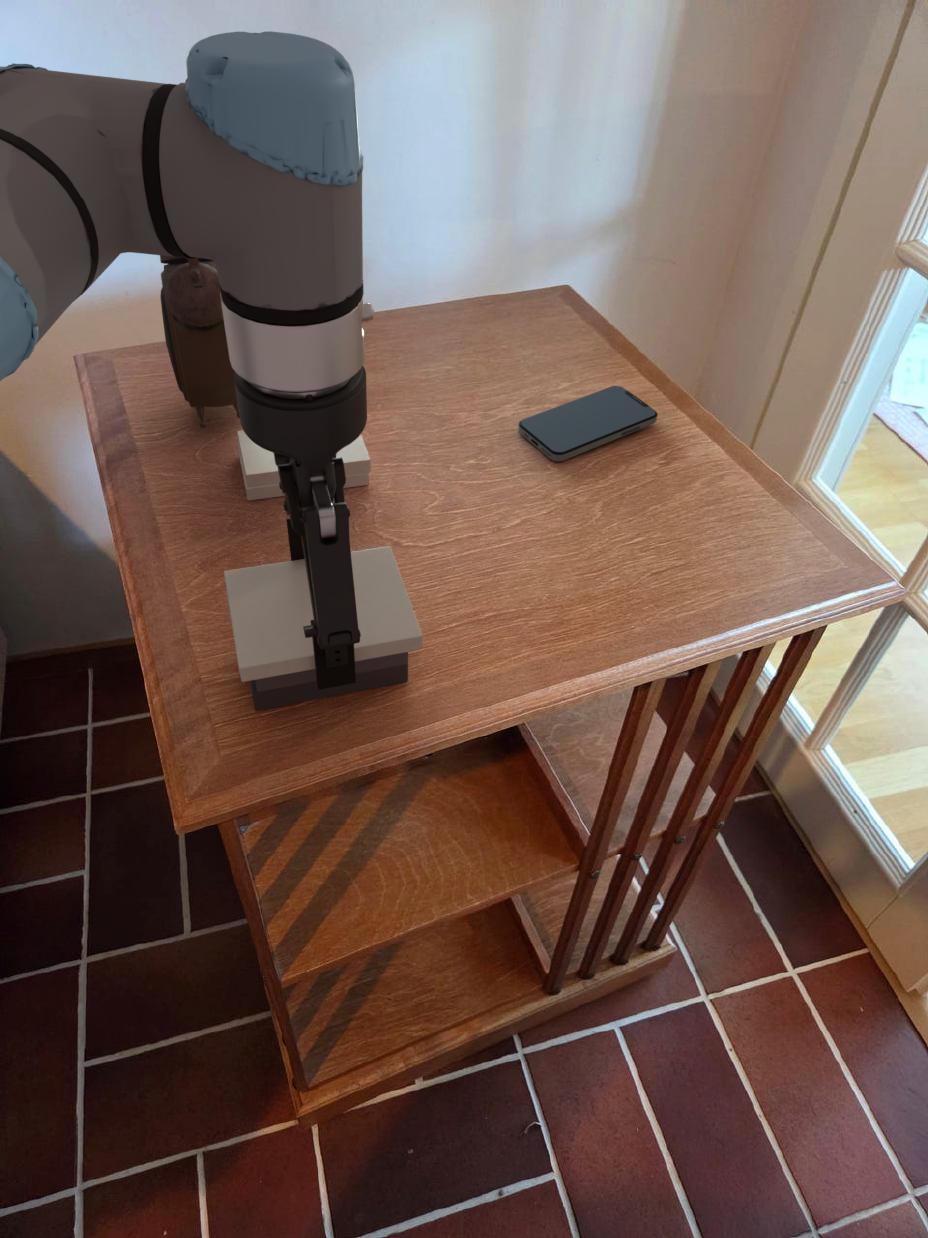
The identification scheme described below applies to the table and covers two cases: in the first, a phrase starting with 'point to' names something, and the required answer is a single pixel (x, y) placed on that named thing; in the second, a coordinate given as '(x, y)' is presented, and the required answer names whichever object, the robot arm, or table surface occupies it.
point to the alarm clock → (197, 333)
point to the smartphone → (587, 423)
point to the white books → (265, 475)
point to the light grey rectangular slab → (281, 605)
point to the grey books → (306, 688)
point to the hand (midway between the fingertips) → (323, 629)
